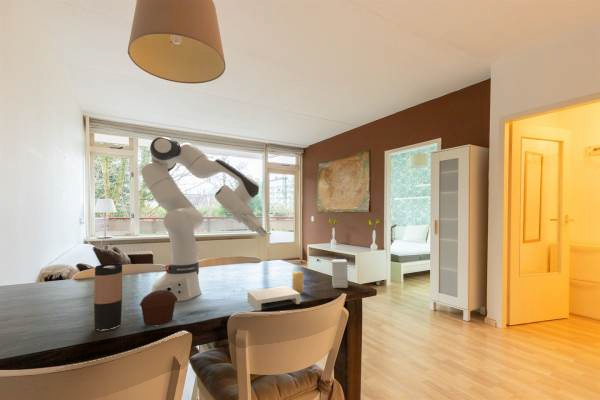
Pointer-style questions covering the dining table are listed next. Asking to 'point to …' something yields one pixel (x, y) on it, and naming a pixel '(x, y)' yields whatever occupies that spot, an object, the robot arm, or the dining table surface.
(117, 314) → the travel mug
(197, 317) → the dining table surface
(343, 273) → the supplement box
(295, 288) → the tan rectangular block
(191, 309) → the dining table surface
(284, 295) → the white bridge block
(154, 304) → the muffin
